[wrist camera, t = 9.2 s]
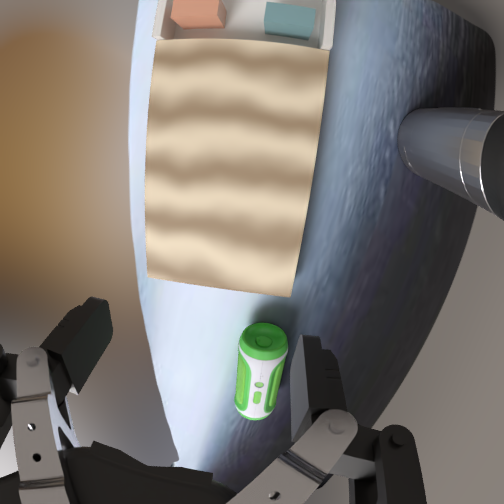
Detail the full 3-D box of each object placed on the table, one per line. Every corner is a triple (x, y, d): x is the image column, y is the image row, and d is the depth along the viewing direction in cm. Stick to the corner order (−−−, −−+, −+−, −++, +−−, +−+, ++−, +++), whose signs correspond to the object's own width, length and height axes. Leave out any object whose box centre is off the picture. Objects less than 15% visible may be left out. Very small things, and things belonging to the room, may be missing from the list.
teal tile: (265, 34, 27) (267, 16, 26) (308, 40, 27) (310, 23, 26) (263, 20, 23) (266, 1, 22) (313, 28, 23) (315, 8, 22)
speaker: (241, 317, 44) (235, 351, 37) (289, 321, 44) (291, 356, 37) (236, 389, 52) (231, 420, 45) (274, 392, 51) (274, 424, 45)
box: (179, -23, 24) (167, -38, 20) (330, -15, 24) (338, -31, 19) (166, 46, 29) (151, 36, 24) (324, 56, 28) (332, 47, 24)
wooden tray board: (166, 46, 29) (156, 40, 26) (324, 57, 28) (329, 51, 25) (156, 265, 41) (147, 277, 38) (289, 283, 41) (290, 297, 38)
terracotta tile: (183, 29, 27) (186, 12, 26) (224, 28, 27) (226, 11, 26) (170, 17, 23) (173, -1, 22) (217, 15, 23) (219, -4, 21)
